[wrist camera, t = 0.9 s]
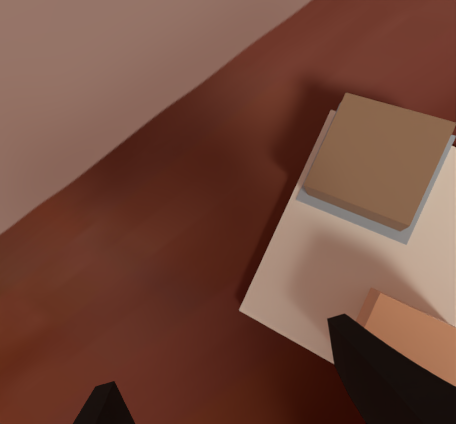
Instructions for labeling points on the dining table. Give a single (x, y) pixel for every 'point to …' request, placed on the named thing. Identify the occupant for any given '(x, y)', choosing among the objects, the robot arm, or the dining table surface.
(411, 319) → the terracotta block
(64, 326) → the dining table surface
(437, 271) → the board
